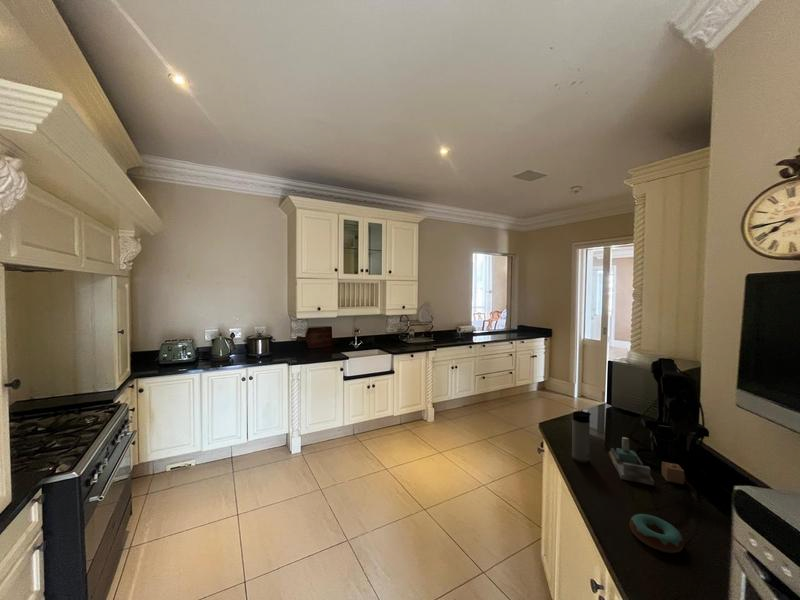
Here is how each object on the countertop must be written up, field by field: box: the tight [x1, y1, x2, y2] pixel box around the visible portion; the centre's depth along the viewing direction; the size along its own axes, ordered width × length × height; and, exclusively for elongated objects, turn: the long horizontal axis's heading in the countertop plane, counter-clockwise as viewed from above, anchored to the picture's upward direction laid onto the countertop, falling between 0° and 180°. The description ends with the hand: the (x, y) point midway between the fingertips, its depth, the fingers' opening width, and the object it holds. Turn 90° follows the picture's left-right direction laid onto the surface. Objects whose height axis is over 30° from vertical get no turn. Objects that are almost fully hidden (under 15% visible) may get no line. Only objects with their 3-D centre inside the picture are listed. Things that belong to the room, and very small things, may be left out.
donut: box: [629, 513, 685, 554], centre depth 88 cm, size 12×12×4 cm
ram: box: [615, 436, 638, 464], centre depth 128 cm, size 6×5×8 cm
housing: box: [661, 461, 685, 485], centre depth 117 cm, size 5×5×5 cm
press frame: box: [608, 447, 655, 486], centre depth 124 cm, size 10×20×6 cm, turn 157°
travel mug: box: [571, 410, 592, 464], centre depth 130 cm, size 6×7×20 cm
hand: (672, 448), depth 117 cm, fingers open, 9 cm apart
